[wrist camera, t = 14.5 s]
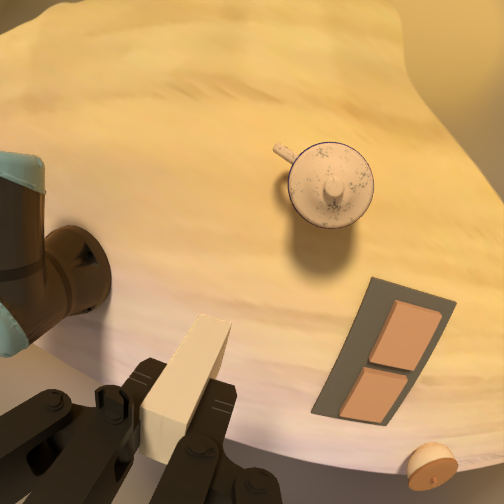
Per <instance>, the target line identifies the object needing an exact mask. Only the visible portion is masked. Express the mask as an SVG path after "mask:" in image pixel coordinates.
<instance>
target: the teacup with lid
mask: <svg viewBox="0 0 504 504" xmlns="http://www.w3.org/2000/svg"><path fill="white" fill-rule="evenodd" d="M273 151H274V152H275V153H276V154H278V155H279V156H280V157H282V158H283V159H285V160H286V161H288V162H289V163H291V164H292V167H291V169H290V172H289V176H288V193H289V197H290V200H291V202H292V205H293V206H294V208H295V209H296V211H297V212H298V213H299V215H300V216H302V217H303V218H304V219H305V220H306V221H308V222H309V223H311V224H313V225H315V226H318V227H322V228H328V229H335V228H342V227H345V226H348V225H350V224H352V223H354V222H355V221H357V220H358V219H359V218H360V217H361V216H362V215H363V214H364V213H365V212H366V210H367V209H368V207H369V205H370V203H371V201H372V197H373V192H374V180H373V175H372V172H371V169H370V167H369V165H368V163H367V162H366V160H365V159H364V158H363V156H362V155H361V154H360V153H358V152H357V151H356V150H354V149H353V148H351V147H349V146H347V145H345V144H342V143H337V142H323V143H318V144H315V145H313V146H311V147H309V148H307V149H306V150H304V151H303V152H302V153H301V154H300V155H298V154H296V153H295V152H293V151H292V150H290V149H289V148H287V147H286V146H284V145H283V144H281V143H276V144H275V146H274V147H273Z"/></svg>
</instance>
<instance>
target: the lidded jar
mask: <svg viewBox="0 0 504 504" xmlns="http://www.w3.org/2000/svg"><path fill="white" fill-rule="evenodd" d="M457 469H458V464H457V461H456V460H455V457H454V455H453V453H452V452H451V450H450V449H449V448H448V447H447V446H445V445H443V444H439V443H436V442H430V443H426V444H424V445H422V446H420V447H419V448H417V449H416V450H415V452H414V453H413V455H412V457H411V458H410V460H409V462H408V466H407V476H408V485H409V487H410V488H411V489H412V490H416V491H424V490H428V489H432V488H435V487H437V486H439V485H441V484H443V483H445V482H446V481H448V480H449V479H450V478H451V477H452V476H453V475H454V474H455V473H456V471H457Z"/></svg>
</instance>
